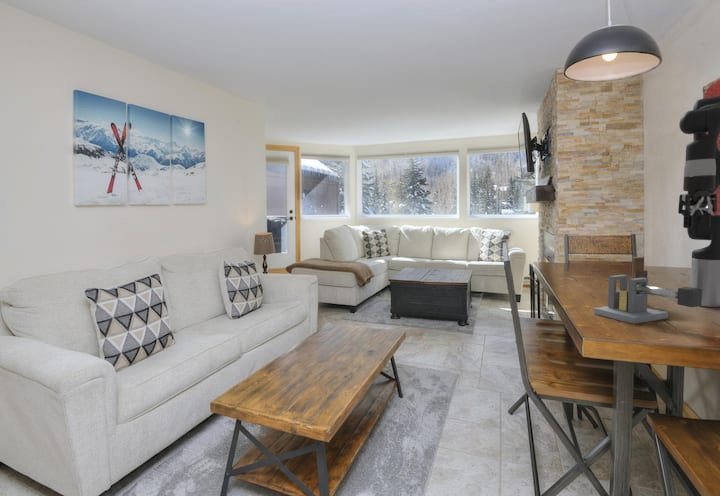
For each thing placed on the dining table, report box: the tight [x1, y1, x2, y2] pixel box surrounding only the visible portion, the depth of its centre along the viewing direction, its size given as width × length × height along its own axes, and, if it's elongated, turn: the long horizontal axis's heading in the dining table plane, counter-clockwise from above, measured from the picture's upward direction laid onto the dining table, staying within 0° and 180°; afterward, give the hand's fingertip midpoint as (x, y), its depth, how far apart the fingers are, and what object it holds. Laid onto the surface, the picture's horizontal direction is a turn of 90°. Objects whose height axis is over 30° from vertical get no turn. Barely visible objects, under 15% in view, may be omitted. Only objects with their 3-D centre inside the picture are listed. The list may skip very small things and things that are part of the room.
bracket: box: [593, 274, 669, 325], centre depth 134 cm, size 16×14×13 cm
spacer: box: [619, 288, 640, 312], centre depth 134 cm, size 7×2×7 cm, turn 110°
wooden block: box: [631, 256, 649, 285], centre depth 147 cm, size 4×11×18 cm, turn 153°
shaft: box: [636, 284, 702, 308], centre depth 123 cm, size 4×17×5 cm, turn 20°
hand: (696, 227), depth 124 cm, fingers open, 8 cm apart
